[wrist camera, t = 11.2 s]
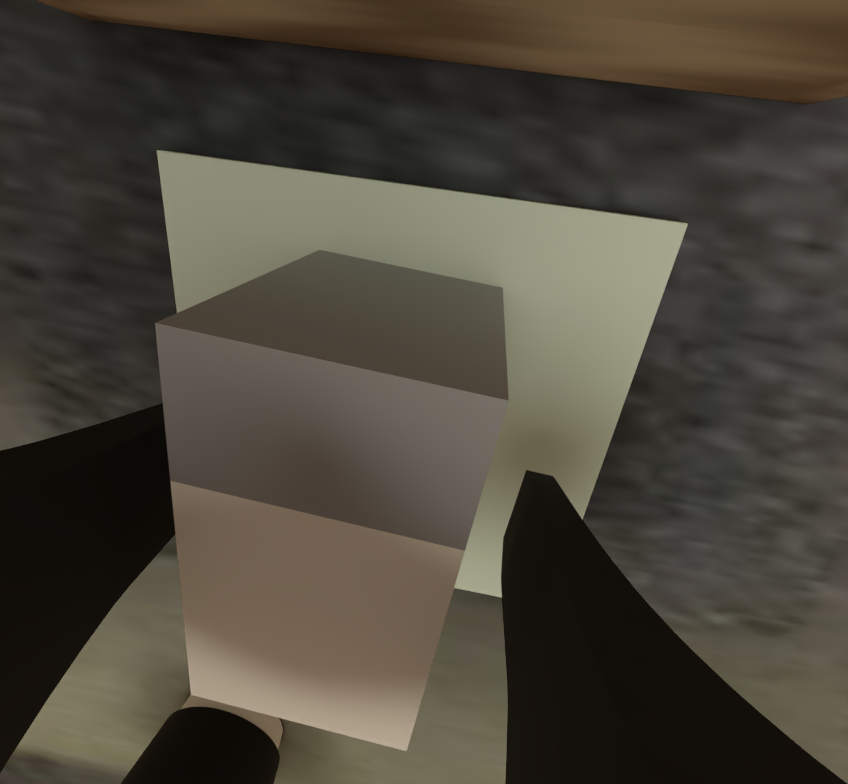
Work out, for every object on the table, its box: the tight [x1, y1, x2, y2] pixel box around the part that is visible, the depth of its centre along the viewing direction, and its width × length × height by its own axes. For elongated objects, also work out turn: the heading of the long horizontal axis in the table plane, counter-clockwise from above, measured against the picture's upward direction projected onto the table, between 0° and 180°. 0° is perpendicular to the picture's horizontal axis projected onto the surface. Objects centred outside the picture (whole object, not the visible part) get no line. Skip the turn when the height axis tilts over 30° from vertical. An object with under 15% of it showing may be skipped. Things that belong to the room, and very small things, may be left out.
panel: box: [157, 150, 688, 597], centre depth 13 cm, size 12×12×1 cm
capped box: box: [155, 250, 509, 751], centre depth 10 cm, size 4×8×6 cm, turn 170°
